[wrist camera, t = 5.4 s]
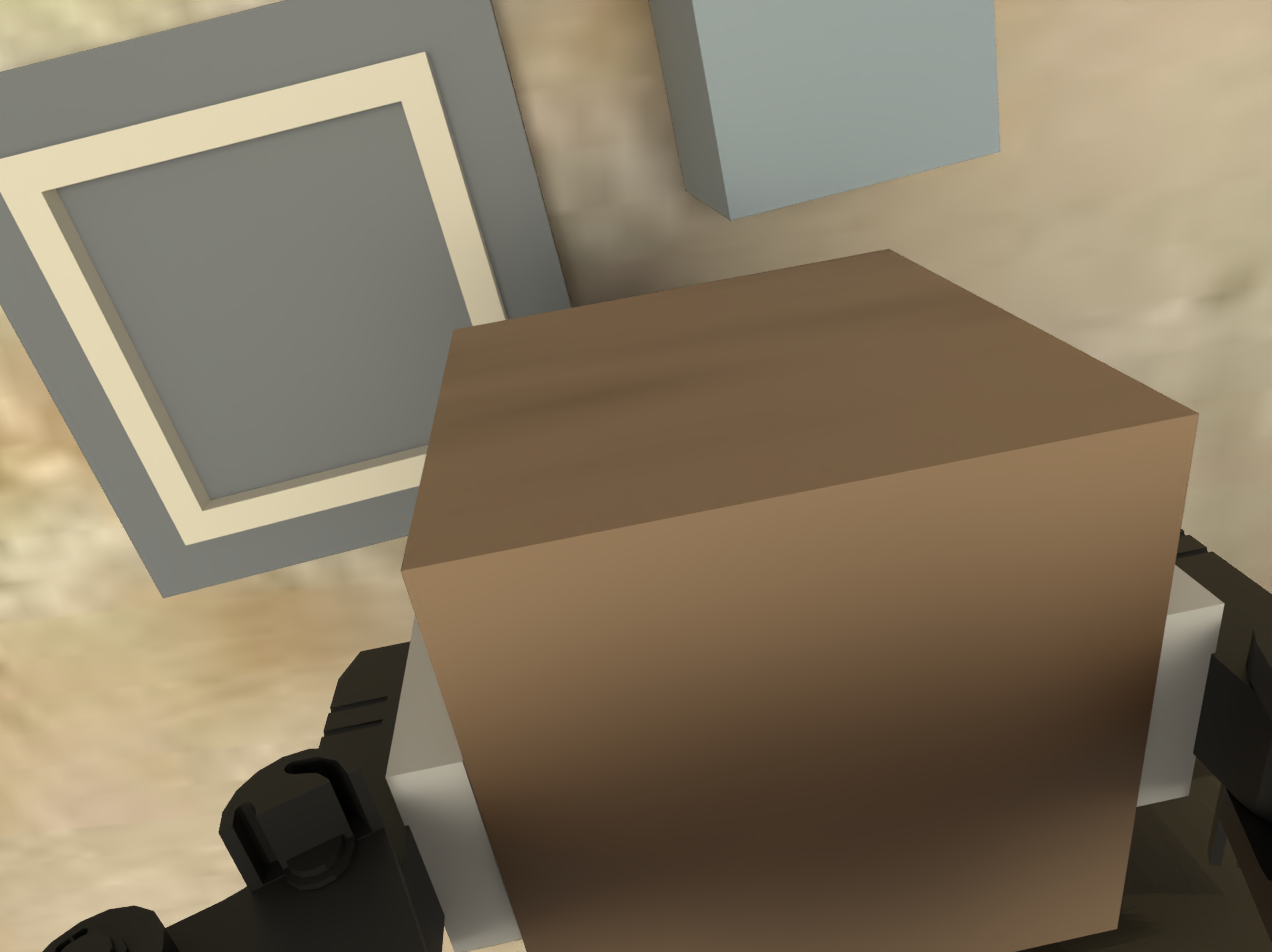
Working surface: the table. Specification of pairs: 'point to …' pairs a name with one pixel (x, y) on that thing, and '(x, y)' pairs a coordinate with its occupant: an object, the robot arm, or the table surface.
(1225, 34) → the table surface
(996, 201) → the table surface
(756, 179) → the slate blue block
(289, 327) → the grey square base plate
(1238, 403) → the table surface
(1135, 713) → the walnut block
